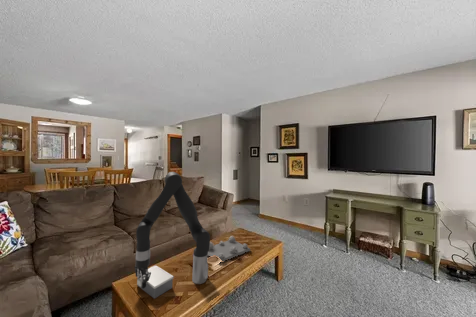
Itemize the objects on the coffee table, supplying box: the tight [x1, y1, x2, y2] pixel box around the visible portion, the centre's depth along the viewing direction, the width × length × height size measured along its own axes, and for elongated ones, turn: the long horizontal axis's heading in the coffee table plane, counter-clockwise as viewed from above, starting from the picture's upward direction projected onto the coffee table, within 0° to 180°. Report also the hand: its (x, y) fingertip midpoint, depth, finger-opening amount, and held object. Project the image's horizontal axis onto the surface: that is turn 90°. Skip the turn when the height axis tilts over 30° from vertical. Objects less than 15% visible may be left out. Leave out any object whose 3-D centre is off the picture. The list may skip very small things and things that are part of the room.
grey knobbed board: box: [208, 235, 251, 262], centre depth 172 cm, size 35×26×10 cm
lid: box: [136, 264, 174, 289], centre depth 122 cm, size 17×19×4 cm
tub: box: [136, 278, 174, 300], centre depth 124 cm, size 12×18×6 cm, turn 55°
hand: (141, 286), depth 117 cm, fingers closed on lid, 3 cm apart
